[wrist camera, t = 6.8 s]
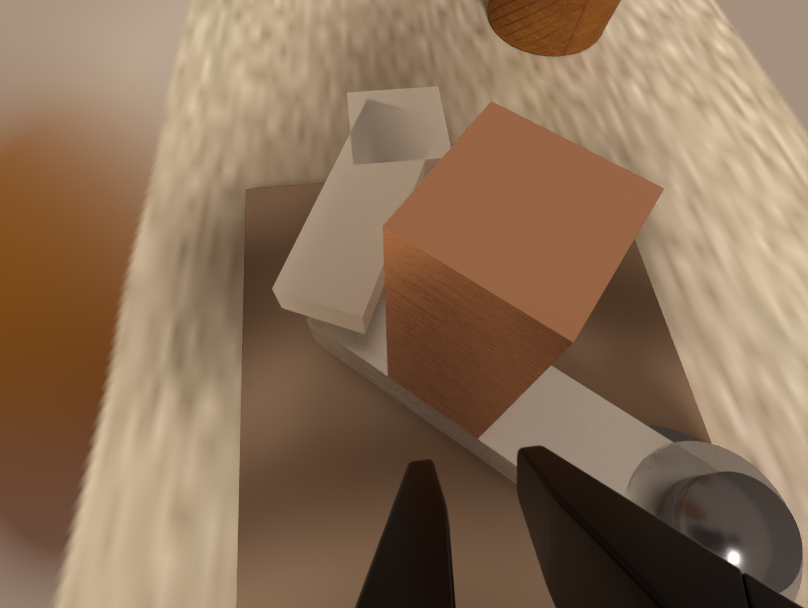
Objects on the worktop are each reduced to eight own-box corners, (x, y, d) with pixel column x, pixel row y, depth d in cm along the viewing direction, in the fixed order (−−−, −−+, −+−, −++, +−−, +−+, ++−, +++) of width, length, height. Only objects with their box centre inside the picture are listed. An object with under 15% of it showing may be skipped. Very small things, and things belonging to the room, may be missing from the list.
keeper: (461, 359, 16) (483, 304, 12) (302, 376, 16) (272, 326, 12) (428, 177, 20) (438, 86, 16) (296, 187, 19) (271, 97, 15)
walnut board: (878, 974, 11) (929, 1021, 10) (241, 1109, 10) (223, 1178, 9) (593, 178, 21) (604, 160, 20) (253, 207, 20) (245, 189, 19)
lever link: (717, 658, 13) (1422, 948, 4) (302, 359, 16) (193, 159, 7) (768, 509, 14) (1354, 485, 6) (381, 264, 17) (369, 7, 9)
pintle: (801, 633, 13) (939, 670, 10) (592, 666, 13) (663, 717, 10) (716, 417, 16) (804, 389, 12) (539, 439, 15) (581, 415, 12)
